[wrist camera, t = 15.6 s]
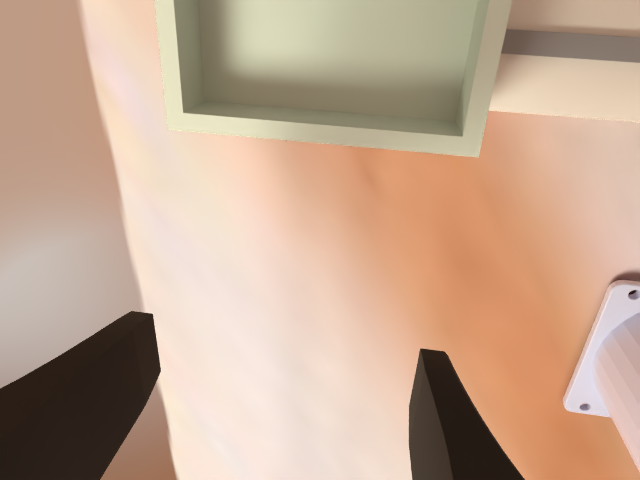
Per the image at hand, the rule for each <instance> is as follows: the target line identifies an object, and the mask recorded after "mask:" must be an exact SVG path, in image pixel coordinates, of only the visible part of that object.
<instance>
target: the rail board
mask: <svg viewBox="0 0 640 480" xmlns="http://www.w3.org/2000/svg"><path fill="white" fill-rule="evenodd" d="M489 111H502V112H515V113H527V114H540V115H552V116H565V117H577V118H590V119H602V120H615V121H628V122H640V0H512V4H511V9H510V14H509V18H508V23H507V28H506V32H505V37H504V42H503V46H502V51H501V55H500V60H499V65H498V69H497V74H496V79H495V83H494V88H493V92H492V97H491V102H490V106H489Z"/></svg>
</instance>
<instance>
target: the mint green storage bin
mask: <svg viewBox="0 0 640 480" xmlns="http://www.w3.org/2000/svg"><path fill="white" fill-rule="evenodd" d="M154 3H155V12H156V22H157V32H158V42H159V52H160V62H161V72H162V81H163V91H164V101H165V111H166V121H167V130H178V131H189V132H200V133H211V134H222V135H234V136H245V137H256V138H267V139H278V140H290V141H301V142H312V143H323V144H334V145H346V146H357V147H368V148H379V149H391V150H402V151H413V152H424V153H435V154H447V155H458V156H469V157H479V153H480V148H481V143H482V139H483V134H484V129H485V125H486V120H487V116H488V111H489V106H490V102H491V97H492V92H493V88H494V83H495V79H496V74H497V69H498V65H499V60H500V55H501V51H502V46H503V42H504V37H505V32H506V28H507V23H508V18H509V14H510V9H511V4H512V0H154Z"/></svg>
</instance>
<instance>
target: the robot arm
mask: <svg viewBox="0 0 640 480" xmlns="http://www.w3.org/2000/svg"><path fill="white" fill-rule="evenodd" d="M632 290H637V291H636V292H635V293H634V294H632V295H628V294H629V292H631V291H632ZM160 372H161V368H160V361H159V354H158V347H157V340H156V333H155V326H154V319H153V314H150V313H142V312H134V311H131V312H129V313H127V314H126V315H124V316H122V317H121V318H119V319H117V320H116V321H114V322H113V323H111V324H109V325H108V326H106V327H105V328H103V329H101V330H100V331H98V332H97V333H95V334H94V335H92V336H91V337H89V338H88V339H86V340H84V341H82V342H81V343H79V344H78V345H76V346H74V347H73V348H71V349H70V350H68V351H66V352H65V353H63V354H62V355H60V356H58V357H56V358H55V359H53V360H51V361H50V362H48V363H46V364H44V365H42V366H41V367H39V368H37V369H35V370H34V371H32V372H30V373H29V374H27V375H25V376H23V377H22V378H20V379H18V380H16V381H14V382H12V383H10V384H8V385H6V386H4V387H2V388H1V389H0V480H100V479H101V477H102V475H103V474H104V472H105V471H106V469H107V467H108V466H109V464H110V462H111V461H112V459H113V458H114V456H115V454H116V453H117V451H118V449H119V448H120V446H121V445H122V443H123V441H124V440H125V438H126V437H127V435H128V433H129V432H130V430H131V428H132V427H133V425H134V423H135V422H136V420H137V419H138V417H139V415H140V414H141V412H142V410H143V409H144V407H145V405H146V403H147V401H148V399H149V396H150V395H151V392H152V390H153V388H154V386H155V383H156V381H157V379H158V376H159V374H160ZM584 403H587V404H585V405H582V404H584ZM563 404H564V406H565V408H566V409H567V410H568V411H571V412H577V413H584V414H591V415H598V416H606V417H611V418H612V420H613V422H614V424H615V426H616V427H617V429H618V431H619V433H620V435H621V437H622V439H623V441H624V443H625V445H626V447H627V449H628V451H629V453H630V454H631V456H632V458H633V460H634V462H635V464H636V466H637V468H638V470H639V472H640V282H638V281H629V280H618V281H615V282H613V283H612V284H610V286H609V287H608V289H607V291H606V294H605V296H604V299H603V301H602V304H601V306H600V309H599V311H598V314H597V316H596V319H595V321H594V324H593V326H592V329H591V331H590V334H589V336H588V338H587V341H586V343H585V346H584V348H583V351H582V353H581V356H580V358H579V361H578V363H577V366H576V368H575V371H574V373H573V376H572V378H571V381H570V383H569V386H568V388H567V390H566V393H565V395H564V398H563ZM409 450H410V460H411V470H412V479H413V480H525V479H524V478H523V477H522V475H521V474H520V473H519V471H518V470H517V469H516V467H515V466H514V465H513V463H512V462H511V461H510V459H509V458H508V457H507V455H506V454H505V452H504V451H503V449H502V448H501V447H500V445H499V444H498V442H497V441H496V439H495V438H494V436H493V435H492V433H491V432H490V430H489V429H488V427H487V426H486V424H485V422H484V421H483V419H482V417H481V416H480V414H479V413H478V411H477V409H476V408H475V406H474V404H473V403H472V401H471V399H470V397H469V396H468V394H467V392H466V390H465V388H464V387H463V385H462V383H461V381H460V379H459V377H458V375H457V373H456V371H455V369H454V367H453V365H452V363H451V361H450V359H449V357H448V355H447V354H446V353H445V352H444V351H436V350H428V349H421V348H420V353H419V358H418V363H417V369H416V374H415V379H414V384H413V389H412V394H411V399H410V405H409Z"/></svg>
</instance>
